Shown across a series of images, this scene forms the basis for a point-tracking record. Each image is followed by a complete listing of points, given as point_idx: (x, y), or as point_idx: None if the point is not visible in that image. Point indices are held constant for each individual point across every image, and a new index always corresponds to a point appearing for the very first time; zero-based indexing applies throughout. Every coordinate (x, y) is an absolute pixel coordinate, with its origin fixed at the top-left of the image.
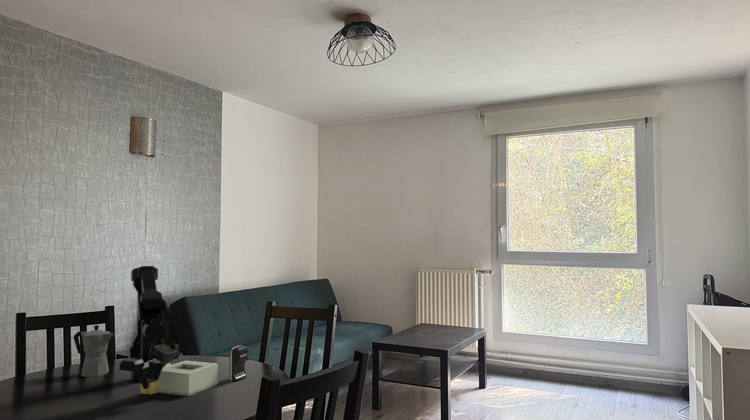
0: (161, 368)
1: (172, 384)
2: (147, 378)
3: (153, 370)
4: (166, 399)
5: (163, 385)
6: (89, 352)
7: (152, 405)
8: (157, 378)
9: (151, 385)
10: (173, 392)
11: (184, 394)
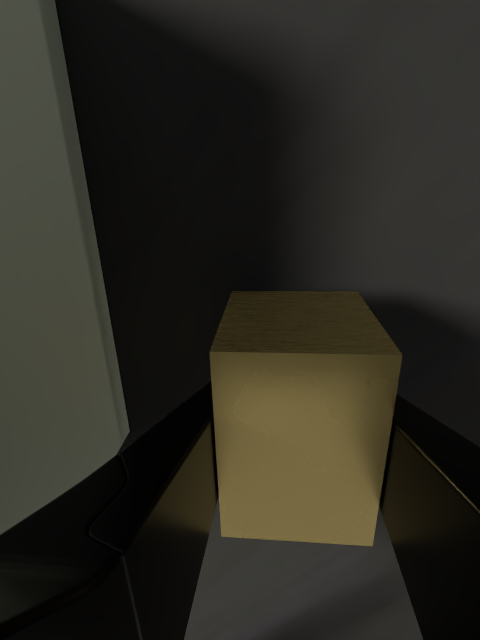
0: (14, 558)
1: (36, 261)
2: (464, 473)
3: (159, 634)
4: (244, 161)
5: (80, 382)
6: None
7: (469, 140)
8: (186, 422)
9: (387, 337)
10: (84, 227)
11: (54, 46)
